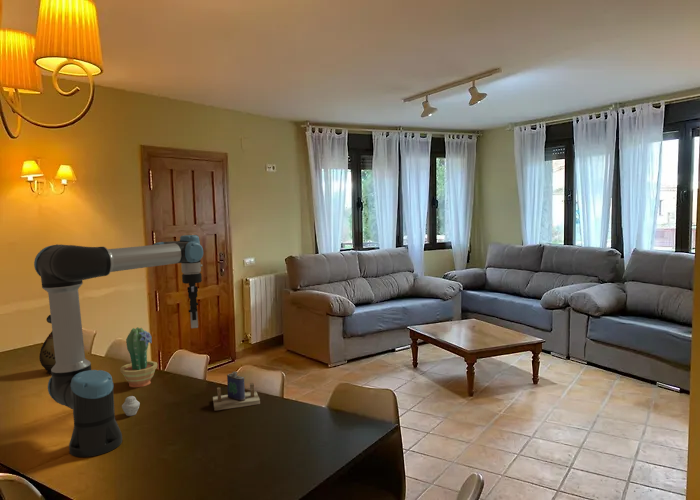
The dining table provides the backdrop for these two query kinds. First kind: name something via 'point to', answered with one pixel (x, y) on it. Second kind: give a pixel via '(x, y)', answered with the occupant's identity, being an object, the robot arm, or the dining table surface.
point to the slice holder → (227, 403)
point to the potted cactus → (138, 359)
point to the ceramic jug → (48, 351)
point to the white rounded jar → (130, 406)
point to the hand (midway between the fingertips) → (194, 324)
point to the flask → (235, 387)
